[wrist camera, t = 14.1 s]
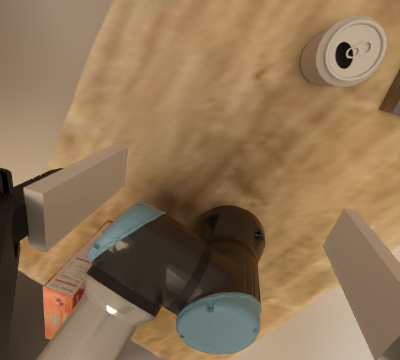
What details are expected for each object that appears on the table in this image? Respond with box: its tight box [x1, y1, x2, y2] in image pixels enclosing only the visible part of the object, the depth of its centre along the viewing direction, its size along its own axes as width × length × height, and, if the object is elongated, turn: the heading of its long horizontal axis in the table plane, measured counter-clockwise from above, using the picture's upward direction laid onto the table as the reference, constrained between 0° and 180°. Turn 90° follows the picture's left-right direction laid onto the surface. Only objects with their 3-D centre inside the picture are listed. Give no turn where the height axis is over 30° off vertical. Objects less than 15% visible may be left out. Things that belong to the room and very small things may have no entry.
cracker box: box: [43, 221, 112, 340], centre depth 51 cm, size 14×6×21 cm, turn 166°
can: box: [300, 15, 387, 87], centre depth 32 cm, size 8×8×12 cm
